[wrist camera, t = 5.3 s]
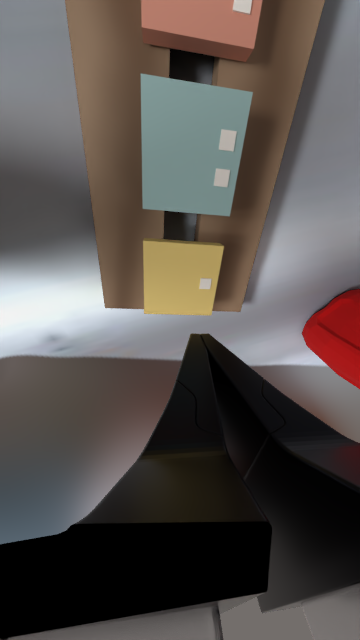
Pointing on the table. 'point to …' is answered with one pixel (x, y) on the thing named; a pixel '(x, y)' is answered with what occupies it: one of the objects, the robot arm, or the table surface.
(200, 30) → the tile brick
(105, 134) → the button board
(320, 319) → the red plastic bottle
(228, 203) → the tile teal
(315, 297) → the table surface
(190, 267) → the tile mustard
